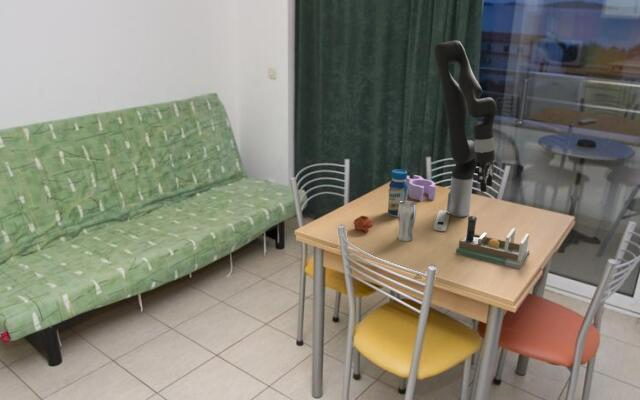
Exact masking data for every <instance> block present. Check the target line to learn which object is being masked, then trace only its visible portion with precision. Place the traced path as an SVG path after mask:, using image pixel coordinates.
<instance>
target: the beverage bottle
mask: <svg viewBox="0 0 640 400" xmlns="http://www.w3.org/2000/svg"><path fill="white" fill-rule="evenodd" d="M390 176H391V180H390V182H389V186H388V187H389V189H388V203H387V204H388V205H387V206H388V207H387V214H388V215H389V216H390V217H396V218H398V208H399V202H401V201H408V190H407V188H408V184H407V182H406V179H407V176H408V171H407V170H405V169H401V168H400V169H399V168H398V169H397V168H396V169H393V170H391V175H390Z"/></svg>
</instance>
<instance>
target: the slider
mask: <svg viewBox="0 0 640 400" xmlns="http://www.w3.org/2000/svg"><path fill="white" fill-rule="evenodd" d="M477 221H478V218H477V217H476V216H473V215H471V216H470V215H468V216H467V228H466V229H467V230H466V236H465V237H464V238H463V239H462V241H465V242H469V243H473V244H478V245H482V246H484V244H485V243H486V237H488V235H487V234H488V233H487V232H483V233H482V234H480V235H481V236H480V237H479V238H477V237H474V234H476V224H477Z"/></svg>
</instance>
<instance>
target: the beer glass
mask: <svg viewBox="0 0 640 400" xmlns="http://www.w3.org/2000/svg"><path fill="white" fill-rule="evenodd" d="M416 215H417V203H416V202H415V201H412V200H407V201H401V202H399V208H398V217H397V221H398V235H397V239H398V240H399V241H400V242H404V243H405V242H408V243H409V242H411V241H413V240H414V237H413V230H414V225H415V221H416Z"/></svg>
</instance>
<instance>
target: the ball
mask: <svg viewBox="0 0 640 400" xmlns="http://www.w3.org/2000/svg"><path fill="white" fill-rule="evenodd" d="M496 239H497V238H496ZM496 239H491V240H490V241H489V242H488V246H489V247H491V248H495V249H497V248H498V247H499V241H498V240H496Z"/></svg>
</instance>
